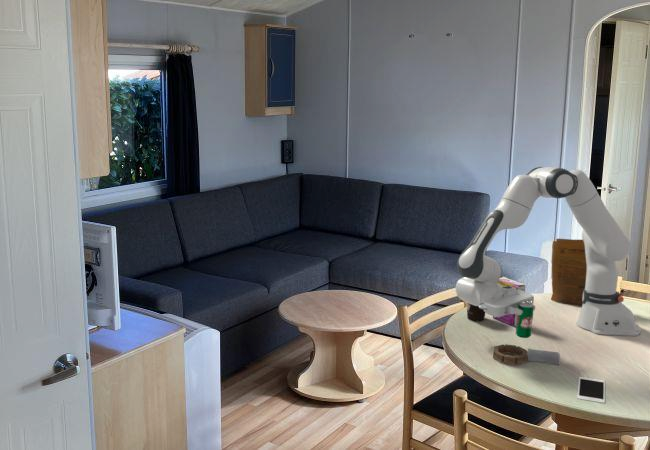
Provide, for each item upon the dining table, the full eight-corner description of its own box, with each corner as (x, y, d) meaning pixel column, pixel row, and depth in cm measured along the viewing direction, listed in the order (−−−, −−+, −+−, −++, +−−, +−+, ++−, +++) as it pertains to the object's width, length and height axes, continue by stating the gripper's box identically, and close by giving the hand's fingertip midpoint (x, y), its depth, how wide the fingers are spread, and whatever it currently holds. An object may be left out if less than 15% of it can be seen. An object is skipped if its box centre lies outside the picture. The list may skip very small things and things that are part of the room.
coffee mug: (487, 323, 276) (489, 298, 274) (464, 321, 278) (465, 296, 276) (486, 313, 287) (488, 289, 285) (464, 311, 289) (466, 287, 287)
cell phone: (576, 399, 217) (577, 398, 217) (578, 378, 232) (579, 376, 231) (604, 404, 214) (604, 402, 214) (604, 382, 229) (605, 380, 229)
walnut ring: (526, 353, 249) (527, 346, 248) (526, 366, 239) (527, 359, 238) (494, 349, 252) (494, 343, 251) (492, 362, 242) (492, 355, 241)
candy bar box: (491, 318, 282) (494, 278, 278) (500, 316, 284) (503, 276, 281) (513, 327, 273) (517, 286, 269) (522, 324, 275) (526, 284, 272)
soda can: (520, 339, 241) (523, 305, 238) (512, 333, 245) (515, 300, 243) (534, 337, 242) (537, 303, 239) (525, 332, 247) (528, 299, 244)
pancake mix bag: (595, 309, 294) (602, 242, 287) (546, 302, 301) (552, 237, 294) (595, 304, 300) (603, 238, 293) (548, 297, 307) (554, 233, 300)
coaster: (558, 353, 250) (558, 352, 249) (559, 365, 240) (559, 364, 240) (528, 349, 252) (528, 348, 252) (528, 361, 243) (528, 360, 243)
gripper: (476, 297, 245) (509, 308, 234) (513, 285, 257) (547, 295, 246) (475, 314, 246) (508, 326, 235) (512, 301, 258) (545, 312, 248)
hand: (528, 310), depth 241 cm, fingers closed on soda can, 5 cm apart
